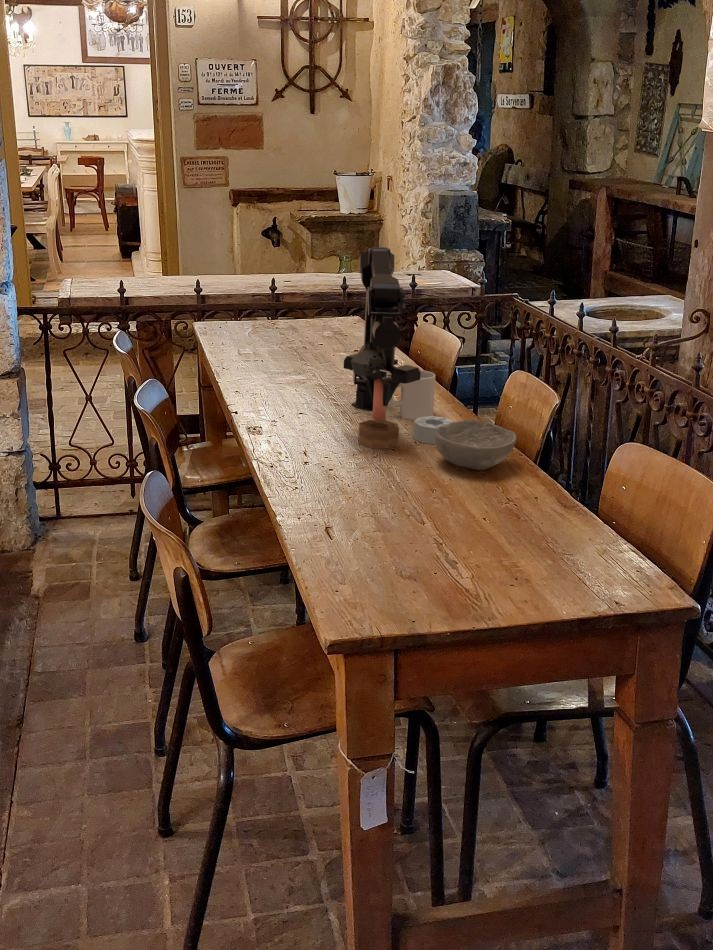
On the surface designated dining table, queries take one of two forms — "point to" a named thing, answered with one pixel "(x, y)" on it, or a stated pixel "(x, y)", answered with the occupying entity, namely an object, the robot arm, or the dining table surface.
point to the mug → (417, 397)
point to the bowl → (474, 443)
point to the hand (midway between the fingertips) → (379, 404)
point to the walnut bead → (378, 434)
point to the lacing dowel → (378, 401)
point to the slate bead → (428, 428)
